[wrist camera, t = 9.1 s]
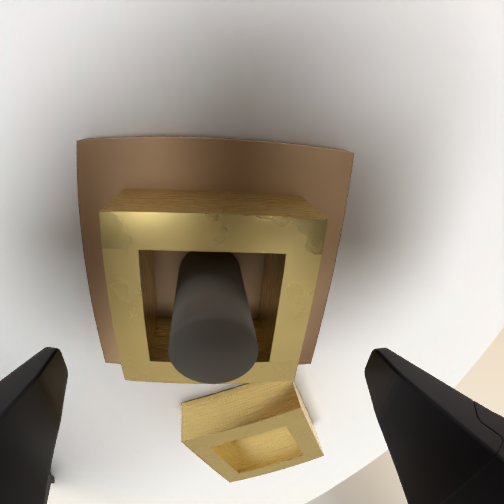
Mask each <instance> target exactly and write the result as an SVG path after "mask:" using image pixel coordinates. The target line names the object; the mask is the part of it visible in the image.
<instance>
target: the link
mask: <svg viewBox="0 0 504 504" xmlns="http://www.w3.org/2000/svg"><path fill="white" fill-rule="evenodd" d="M181 442H182V443H184V444H185V445H186V446H187V447H188V448H189V449H190V450H191V451H192V452H194V453H195V454H196V455H197V456H198V457H199V458H201V459H202V460H203V461H204V462H205V463H206V464H208V465H209V466H210V467H211V468H212V469H214V470H215V471H216V472H217V473H219V474H220V475H221V476H222V477H224V478H225V479H226V480H227V481H229V482H233V481H238V480H243V479H247V478H251V477H255V476H259V475H263V474H267V473H271V472H274V471H278V470H281V469H285V468H288V467H291V466H295V465H298V464H301V463H304V462H307V461H310V460H313V459H316V458H319V457H321V456H324V455H323V452H322V449H321V446H320V443H319V440H318V437H317V434H316V431H315V428H314V425H313V423H312V421H311V418H310V416H309V414H308V412H307V410H306V407H305V405H304V403H303V401H302V398H301V396H300V394H299V392H298V389H297V387H296V385H295V383H294V380H293V381H279V382H261V383H248V384H245V385H242V386H239V387H236V388H232V389H229V390H226V391H223V392H219V393H216V394H213V395H209V396H206V397H202V398H199V399H195V400H191V401H187V402H184V403H182V419H181Z"/></svg>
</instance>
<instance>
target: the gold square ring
mask: <svg viewBox="0 0 504 504" xmlns="http://www.w3.org/2000/svg"><path fill="white" fill-rule="evenodd" d="M99 218H100V231H101V242H102V252H103V261H104V270H105V277H106V285H107V292H108V298H109V304H110V310H111V316H112V322H113V327H114V332H115V337H116V342H117V347H118V352H119V356H120V361H121V365H122V369H123V374H124V378H125V380H131V381H145V382H163V383H193V384H207V383H201V382H196V381H193V380H191V379H189V378H187V377H185V376H183V375H182V374H181V373H179V372H178V371H177V370H176V369H175V367H174V366H173V365H172V363H171V361H170V358H169V353H168V348H169V340H170V331H171V323H172V317H161V316H158V310H157V297H156V282H155V263H154V250H167V251H204V252H241V253H265V262H264V271H263V279H262V288H261V296H260V304H259V313H258V318H252V321H253V326H254V330H255V334H256V339H257V343H258V349H259V351H258V357H257V360H256V362H255V364H254V366H253V367H252V368H251V369H250V370H249V371H248V372H247V373H246V374H244V375H243V376H241V377H239V378H237V379H235V380H233V381H230V382H226V383H219V384H230V383H261V382H279V381H293V380H294V378H295V374H296V370H297V366H298V362H299V358H300V354H301V350H302V345H303V341H304V337H305V333H306V328H307V324H308V319H309V315H310V310H311V306H312V301H313V296H314V292H315V287H316V282H317V277H318V272H319V267H320V261H321V256H322V251H323V245H324V240H325V234H326V229H327V223H328V219H327V218H326V217H325V216H324V215H323V214H321V213H320V212H319V211H318V210H317V209H316V208H315V207H314V206H312V205H311V204H310V203H309V202H308V201H307V200H306V199H304V198H303V197H302V196H295V195H281V194H266V193H249V192H229V191H204V190H166V189H123V190H122V191H121V192H120V193H118V194H117V195H116V196H115V197H114V198H113V199H112V200H111V201H110V202H109V203H108V204H107V205H106V206H104V207H103V208H102V209H101V210H100V211H99Z"/></svg>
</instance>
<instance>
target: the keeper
mask: <svg viewBox="0 0 504 504" xmlns="http://www.w3.org/2000/svg"><path fill="white" fill-rule="evenodd" d="M353 157H354V153H351V152H348V151H345V150H338V149H331V148H324V147H317V146H309V145H300V144H291V143H282V142H271V141H260V140H247V139H232V138H212V137H179V136H142V137H109V138H91V139H83V140H78V141H77V182H78V199H79V213H80V224H81V234H82V243H83V251H84V258H85V265H86V272H87V278H88V284H89V290H90V295H91V301H92V306H93V311H94V316H95V321H96V325H97V330H98V334H99V338H100V342H101V346H102V350H103V354H104V358H105V362H106V363H117V364H121V361H120V356H119V352H118V347H117V342H116V337H115V332H114V327H113V322H112V316H111V310H110V304H109V298H108V292H107V285H106V277H105V270H104V261H103V252H102V242H101V231H100V218H99V211H100V210H101V209H102V208H103V207H104V206H106V205H107V204H108V203H109V202H110V201H111V200H112V199H113V198H114V197H115V196H116V195H117V194H118V193H120V192H121V191H122V190H123V189H166V190H204V191H229V192H249V193H266V194H281V195H295V196H302V197H303V198H304V199H306V200H307V201H308V202H309V203H310V204H311V205H312V206H314V207H315V208H316V209H317V210H318V211H319V212H320V213H321V214H323V215H324V216H325V217H326V218H327V219H328V223H327V229H326V234H325V240H324V245H323V251H322V256H321V261H320V267H319V272H318V277H317V282H316V287H315V292H314V296H313V301H312V306H311V310H310V315H309V319H308V324H307V328H306V333H305V337H304V341H303V345H302V350H301V354H300V358H299V362H298V364H311V361H312V357H313V353H314V350H315V346H316V342H317V338H318V334H319V330H320V326H321V322H322V318H323V314H324V310H325V306H326V302H327V297H328V293H329V289H330V284H331V280H332V275H333V270H334V266H335V261H336V256H337V251H338V246H339V241H340V236H341V231H342V225H343V220H344V214H345V208H346V203H347V197H348V191H349V184H350V178H351V171H352V164H353ZM264 262H265V253H241V252H204V251H167V250H154V263H155V282H156V297H157V310H158V316H161V317H172V323H171V331H170V340H169V348H168V353H169V358H170V361H171V363H172V365H173V366H174V367H175V369H176V370H177V371H178V372H179V373H181V374H182V375H183V376H185V377H187V378H189V379H191V380H193V381H196V382H201V383H207V384H219V383H226V382H230V381H233V380H235V379H237V378H239V377H241V376H243V375H244V374H246V373H247V372H248V371H249V370H250V369H251V368H252V367H253V366H254V364H255V362H256V360H257V357H258V351H259V349H258V343H257V339H256V334H255V330H254V326H253V321H252V318H258V313H259V304H260V296H261V288H262V279H263V271H264Z"/></svg>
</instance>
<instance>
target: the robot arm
mask: <svg viewBox="0 0 504 504" xmlns="http://www.w3.org/2000/svg"><path fill="white" fill-rule="evenodd" d="M67 378H68V371H67V367H66V364H65V362H64V359H63V356H62V353H61V351H60V350H59V349H58V348H53V347H46V348H44V349H43V350H41V351H40V352H38V353H37V354H36V355H34V356H33V357H32V358H30V359H29V360H28V361H26V362H25V363H24V364H22V365H21V366H19V367H18V368H17V369H15V370H14V371H13V372H11V373H10V374H9V375H8V376H6V377H5V378H4V379H2V380H1V381H0V504H47V500H48V495H49V490H50V485H51V483H54V482H55V480H54V478H53V477H52V476H51V475H50V474H49V473H50V468H51V463H52V458H53V453H54V448H55V444H56V439H57V435H58V431H59V426H60V422H61V416H62V409H63V402H64V396H65V390H66V384H67ZM365 378H366V382H367V385H368V389H369V392H370V396H371V400H372V403H373V407H374V411H375V414H376V417H377V420H378V423H379V425H380V428H381V430H382V433H383V436H384V438H385V441H386V443H387V446H388V449H389V451H390V454H391V457H392V459H393V462H394V465H395V468H396V470H397V473H398V476H399V479H400V482H401V484H402V487H403V490H404V493H405V496H406V499H407V502H408V504H504V417H502V416H500V415H498V414H496V413H494V412H492V411H490V410H489V409H487V408H485V407H483V406H482V405H480V404H478V403H477V402H475V401H473V400H471V399H470V398H468V397H467V396H465V395H463V394H462V393H460V392H458V391H456V390H455V389H453V388H452V387H450V386H448V385H447V384H445V383H443V382H442V381H440V380H438V379H437V378H435V377H433V376H432V375H430V374H429V373H427V372H425V371H424V370H422V369H420V368H419V367H417V366H415V365H414V364H412V363H410V362H409V361H407V360H405V359H404V358H402V357H401V356H399V355H397V354H396V353H394V352H392V351H391V350H389V349H387V348H377V349H374V350H373V351H372V352H371V355H370V357H369V360H368V362H367V365H366V367H365Z"/></svg>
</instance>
